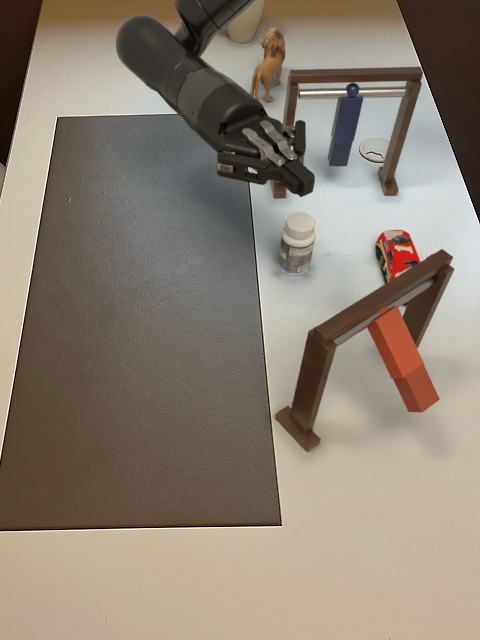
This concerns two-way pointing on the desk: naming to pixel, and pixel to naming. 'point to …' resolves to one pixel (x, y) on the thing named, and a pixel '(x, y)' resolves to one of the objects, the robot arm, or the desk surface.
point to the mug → (246, 23)
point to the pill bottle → (297, 244)
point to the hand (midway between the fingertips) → (308, 188)
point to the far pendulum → (347, 114)
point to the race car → (395, 253)
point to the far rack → (361, 75)
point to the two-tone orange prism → (399, 351)
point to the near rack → (321, 337)
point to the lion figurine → (269, 62)
